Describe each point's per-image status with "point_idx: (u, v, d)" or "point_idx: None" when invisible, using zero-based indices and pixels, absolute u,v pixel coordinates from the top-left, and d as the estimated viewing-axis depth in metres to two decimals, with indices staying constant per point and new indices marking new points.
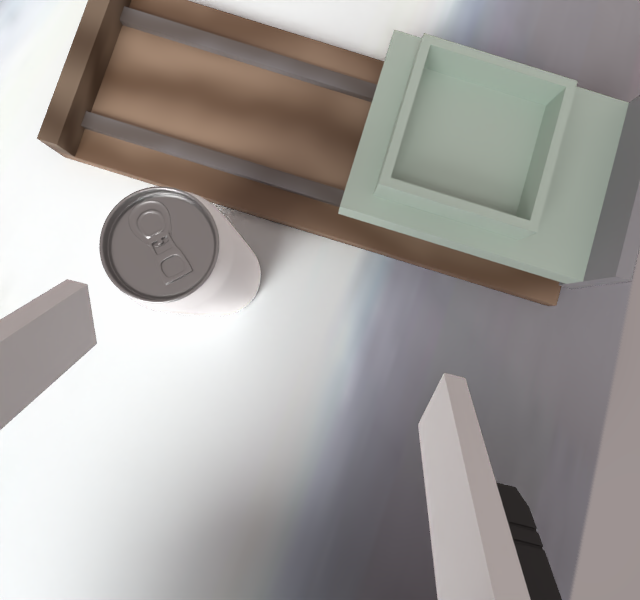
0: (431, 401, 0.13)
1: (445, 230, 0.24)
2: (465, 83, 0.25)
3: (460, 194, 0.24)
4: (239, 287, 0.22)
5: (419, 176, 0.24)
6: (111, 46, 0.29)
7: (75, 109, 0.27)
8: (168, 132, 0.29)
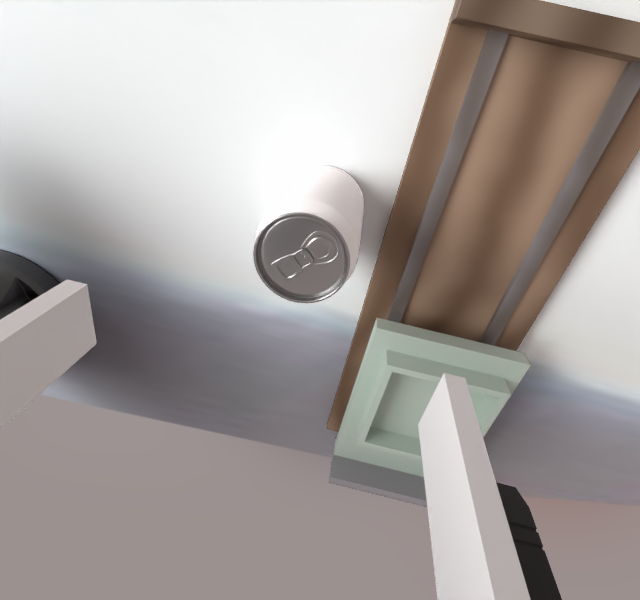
0: (431, 401, 0.13)
1: (361, 390, 0.34)
2: (476, 406, 0.33)
3: (388, 400, 0.34)
4: None
5: (402, 377, 0.32)
6: (596, 53, 0.23)
7: (505, 29, 0.22)
8: (473, 141, 0.26)
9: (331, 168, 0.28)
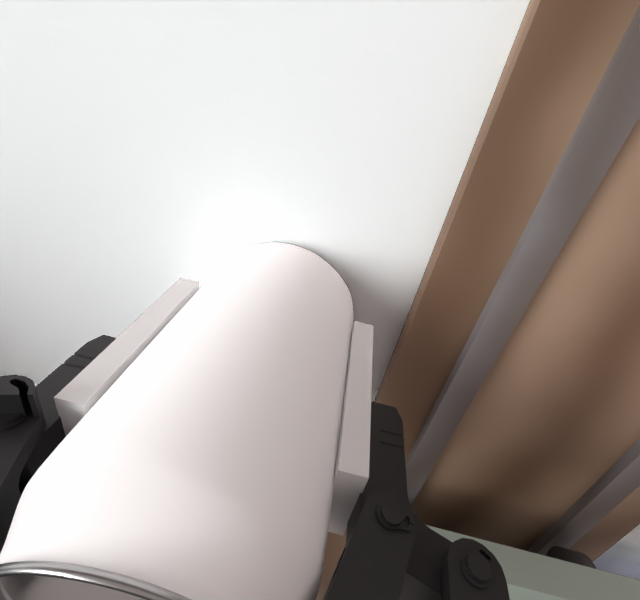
0: None
1: None
2: None
3: None
4: None
5: None
6: None
7: None
8: (593, 207, 0.12)
9: (285, 252, 0.14)
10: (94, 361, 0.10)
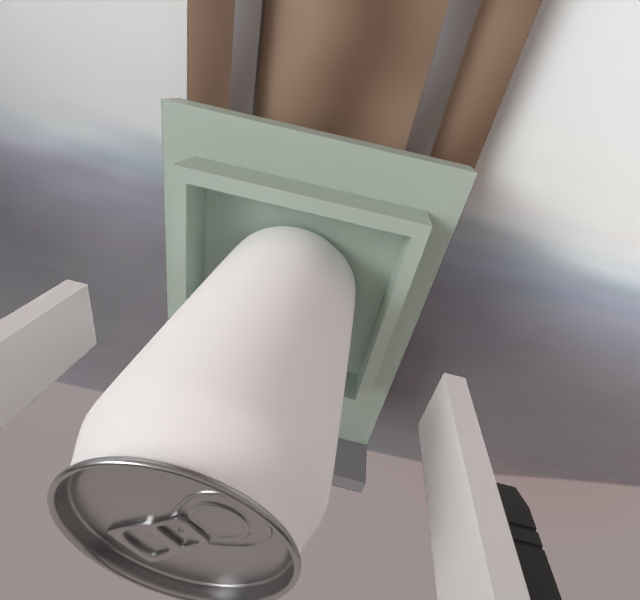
0: (431, 401, 0.13)
1: None
2: (382, 284, 0.17)
3: None
4: None
5: (238, 225, 0.17)
6: None
7: None
8: None
9: (294, 234, 0.15)
10: None
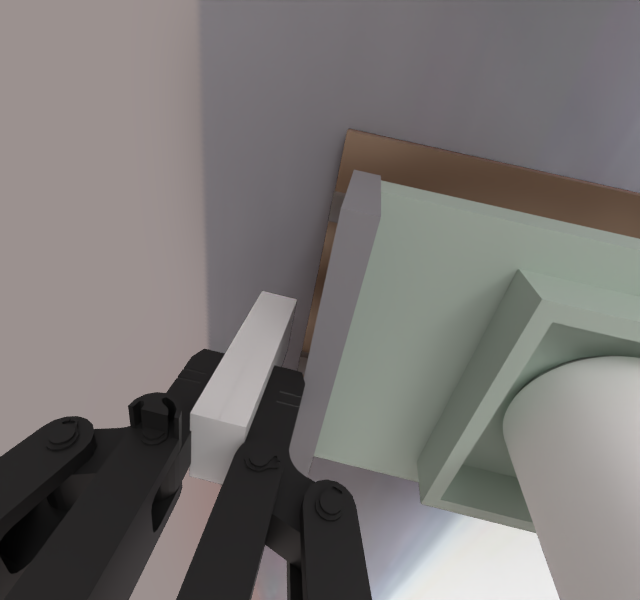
0: None
1: None
2: None
3: (625, 346, 0.12)
4: None
5: None
6: None
7: None
8: None
9: None
10: (214, 377, 0.10)
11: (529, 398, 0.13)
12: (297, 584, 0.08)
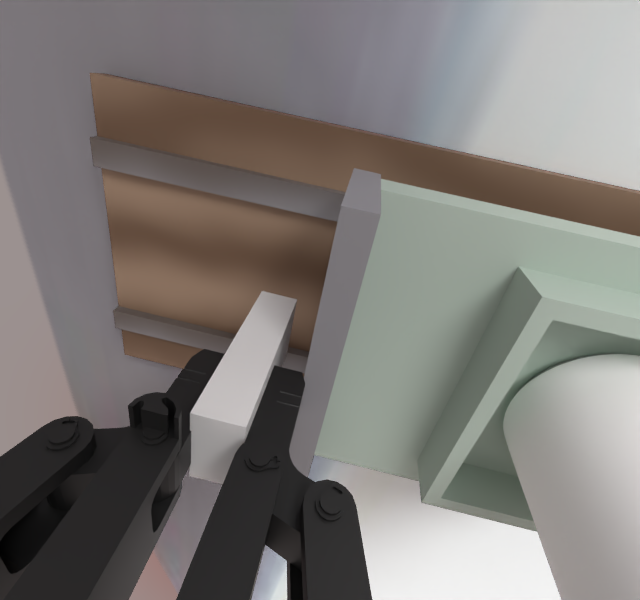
0: None
1: None
2: None
3: (625, 344, 0.12)
4: None
5: None
6: None
7: None
8: None
9: None
10: (214, 376, 0.10)
11: (530, 396, 0.13)
12: (297, 584, 0.08)
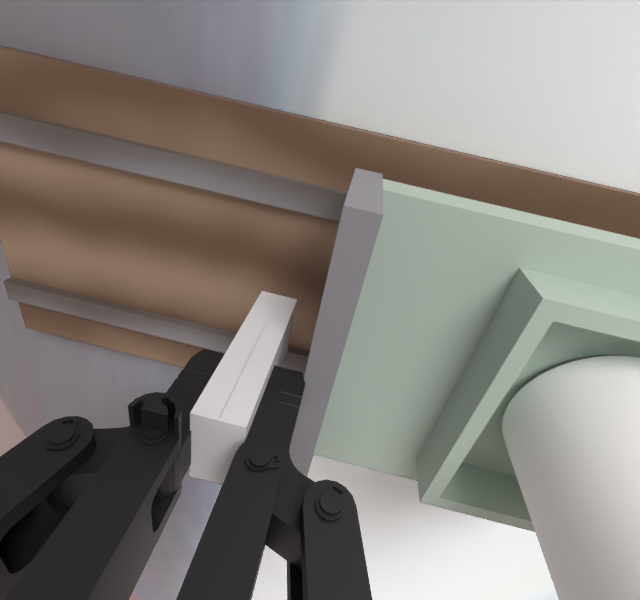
0: None
1: None
2: None
3: (624, 345, 0.13)
4: None
5: None
6: None
7: None
8: None
9: None
10: (213, 376, 0.10)
11: (529, 397, 0.13)
12: (297, 584, 0.08)
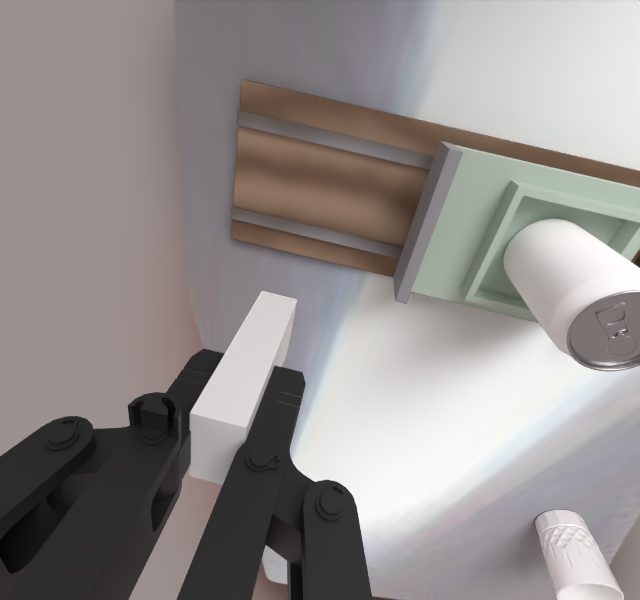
0: None
1: (578, 183, 0.28)
2: None
3: (555, 215, 0.30)
4: (541, 273, 0.25)
5: (589, 228, 0.30)
6: None
7: None
8: None
9: None
10: (213, 376, 0.10)
11: (515, 239, 0.30)
12: (297, 584, 0.08)
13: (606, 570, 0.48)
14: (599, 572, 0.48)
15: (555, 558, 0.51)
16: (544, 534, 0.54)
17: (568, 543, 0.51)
